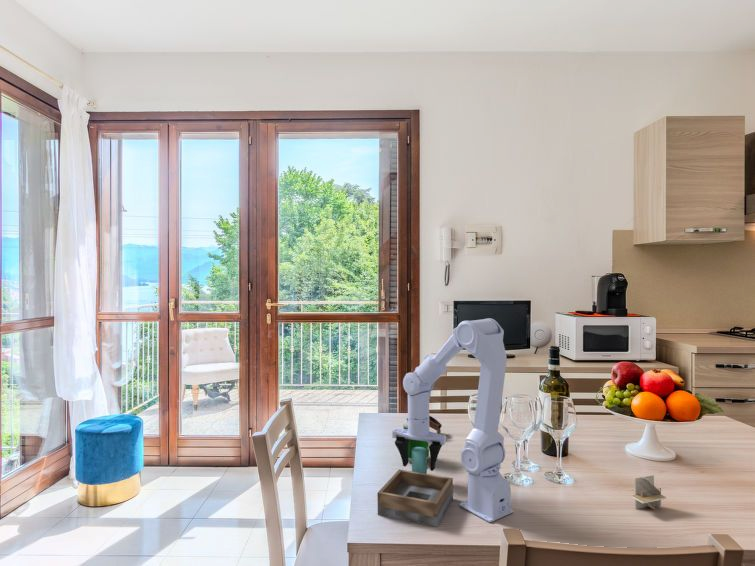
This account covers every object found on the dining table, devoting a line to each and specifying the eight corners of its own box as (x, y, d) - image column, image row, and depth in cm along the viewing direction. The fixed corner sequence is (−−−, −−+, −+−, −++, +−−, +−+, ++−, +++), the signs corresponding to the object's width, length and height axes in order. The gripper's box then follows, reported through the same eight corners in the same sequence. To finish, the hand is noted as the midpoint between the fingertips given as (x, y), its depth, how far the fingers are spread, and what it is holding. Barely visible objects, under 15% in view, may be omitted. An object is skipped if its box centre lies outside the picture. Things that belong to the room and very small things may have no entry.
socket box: (452, 498, 114) (452, 478, 114) (437, 526, 101) (436, 503, 101) (399, 488, 119) (399, 469, 119) (377, 514, 106) (377, 492, 106)
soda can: (427, 465, 134) (427, 424, 134) (402, 463, 136) (401, 422, 135) (430, 455, 141) (429, 416, 141) (405, 454, 143) (405, 415, 143)
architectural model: (667, 513, 106) (666, 480, 106) (643, 518, 104) (642, 485, 104) (654, 506, 109) (653, 474, 109) (630, 511, 107) (630, 478, 107)
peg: (429, 480, 124) (429, 450, 124) (418, 484, 122) (418, 453, 122) (420, 474, 128) (420, 445, 128) (408, 478, 125) (408, 449, 125)
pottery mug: (415, 431, 166) (426, 411, 165) (436, 448, 161) (448, 427, 161) (401, 432, 155) (413, 411, 155) (423, 450, 150) (436, 428, 150)
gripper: (448, 415, 126) (449, 465, 126) (398, 409, 131) (399, 457, 131) (441, 423, 119) (442, 475, 119) (389, 416, 125) (389, 467, 125)
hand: (419, 467), depth 125 cm, fingers open, 7 cm apart
